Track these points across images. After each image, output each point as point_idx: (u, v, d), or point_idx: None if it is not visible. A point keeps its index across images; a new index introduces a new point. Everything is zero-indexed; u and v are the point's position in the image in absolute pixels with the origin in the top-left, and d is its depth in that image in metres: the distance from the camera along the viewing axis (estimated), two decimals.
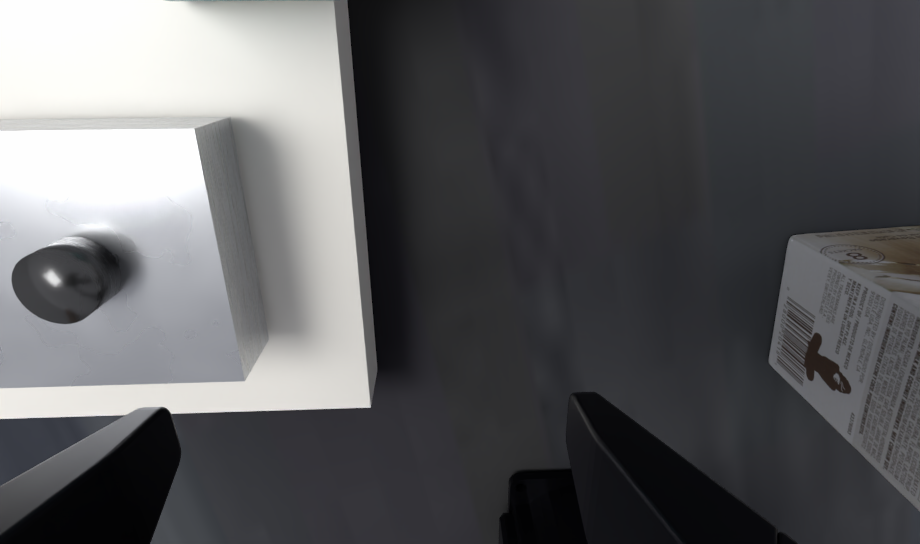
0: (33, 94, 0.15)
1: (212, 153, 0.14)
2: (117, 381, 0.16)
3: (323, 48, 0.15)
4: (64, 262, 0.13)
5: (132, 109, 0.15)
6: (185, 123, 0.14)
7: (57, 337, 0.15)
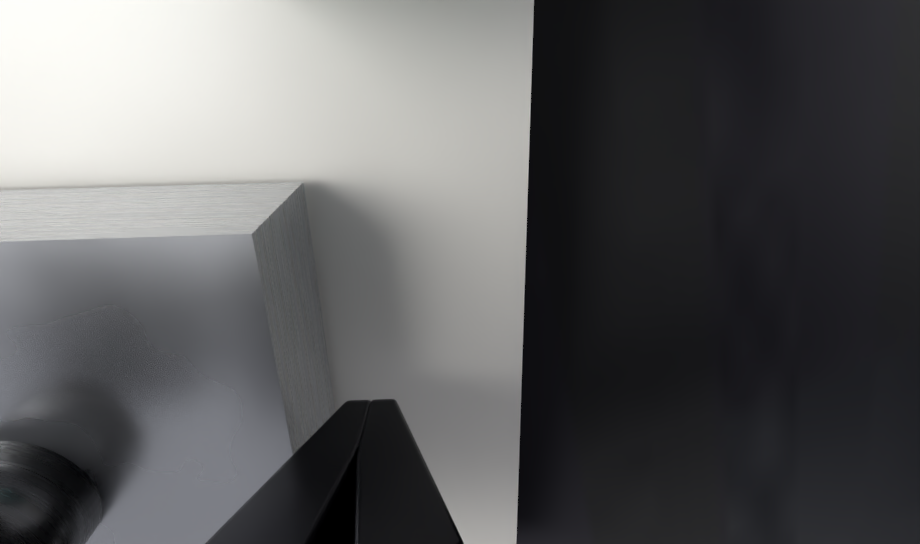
0: None
1: (281, 267, 0.07)
2: None
3: (504, 51, 0.08)
4: None
5: (142, 169, 0.08)
6: (226, 209, 0.07)
7: None
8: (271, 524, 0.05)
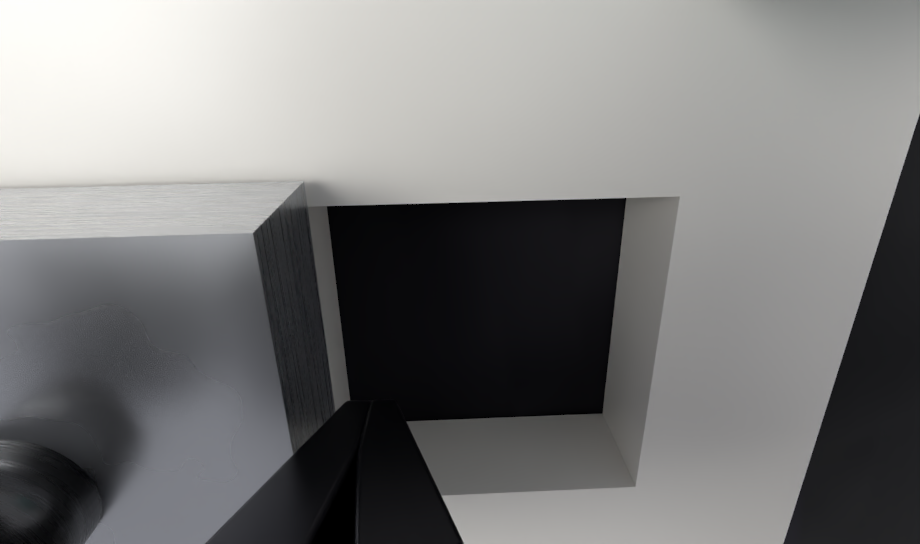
0: (370, 134, 0.08)
1: (281, 266, 0.07)
2: None
3: (915, 44, 0.08)
4: None
5: (539, 158, 0.09)
6: (227, 208, 0.07)
7: None
8: (271, 524, 0.05)
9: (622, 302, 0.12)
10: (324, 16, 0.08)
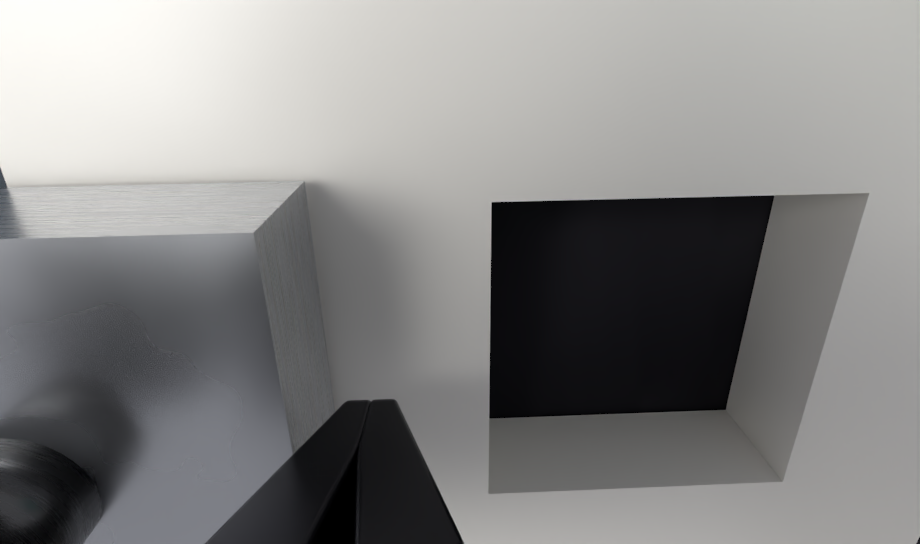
0: (578, 130, 0.08)
1: (282, 267, 0.07)
2: None
3: None
4: None
5: (737, 154, 0.09)
6: (227, 208, 0.07)
7: None
8: (271, 524, 0.05)
9: (764, 299, 0.12)
10: (551, 13, 0.08)
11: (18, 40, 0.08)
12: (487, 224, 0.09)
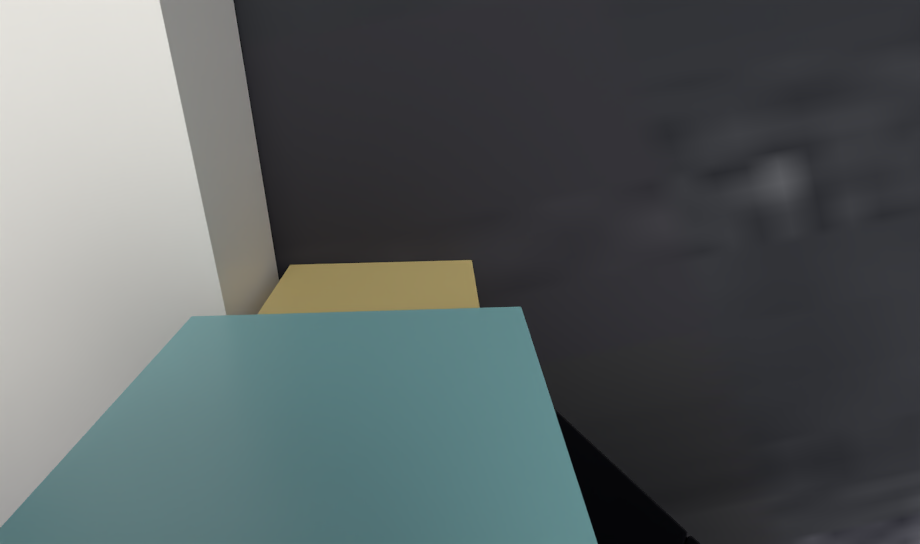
0: None
1: None
2: None
3: None
4: None
5: None
6: None
7: None
8: None
9: None
10: None
11: None
12: None
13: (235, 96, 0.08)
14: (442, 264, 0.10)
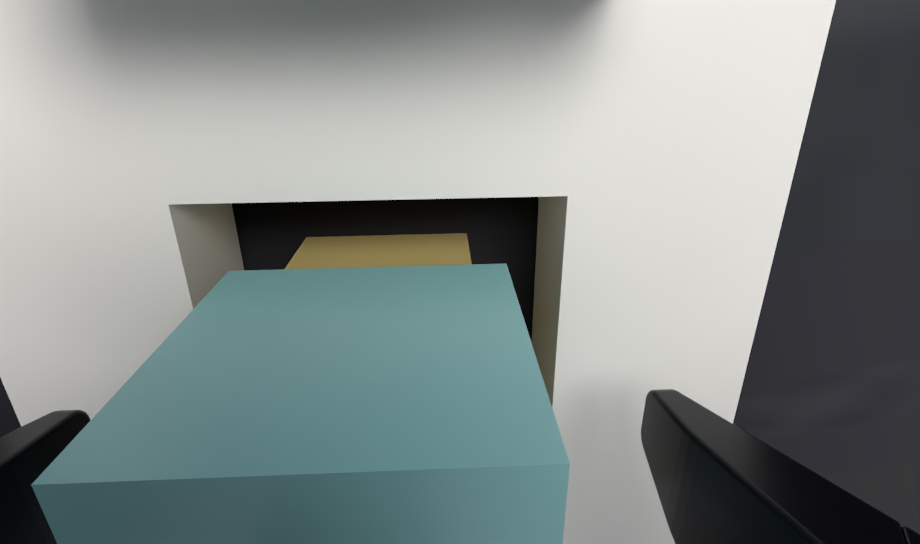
0: (626, 271, 0.09)
1: None
2: None
3: None
4: None
5: (588, 396, 0.10)
6: None
7: None
8: None
9: None
10: (725, 240, 0.09)
11: None
12: (544, 192, 0.09)
13: None
14: (441, 236, 0.11)
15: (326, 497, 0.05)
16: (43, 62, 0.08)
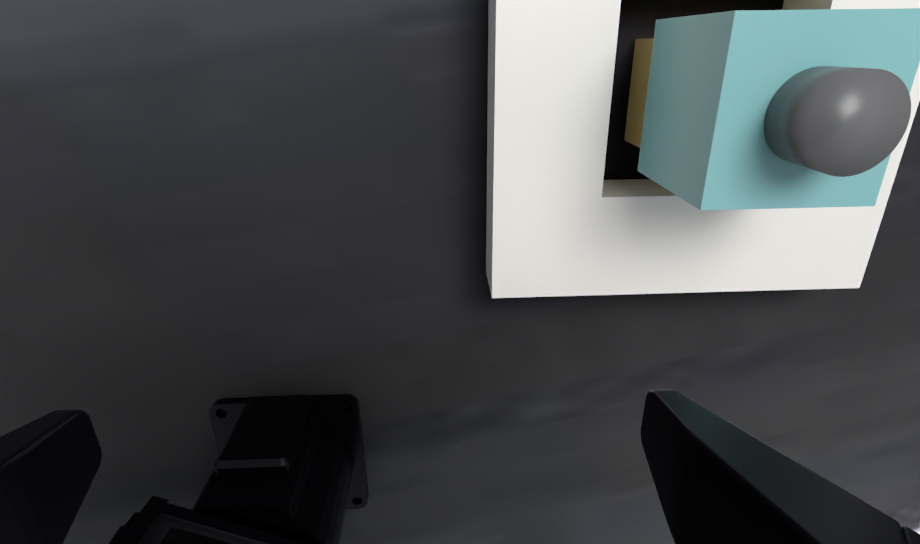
0: None
1: None
2: None
3: (825, 278, 0.20)
4: None
5: None
6: None
7: None
8: None
9: None
10: None
11: None
12: None
13: None
14: None
15: (840, 22, 0.12)
16: None
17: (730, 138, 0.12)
